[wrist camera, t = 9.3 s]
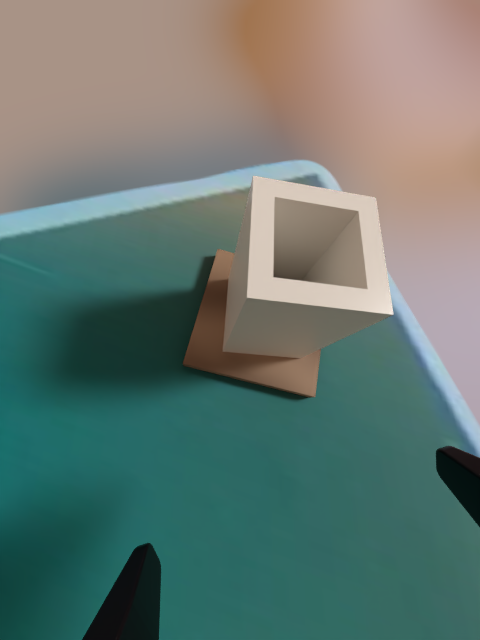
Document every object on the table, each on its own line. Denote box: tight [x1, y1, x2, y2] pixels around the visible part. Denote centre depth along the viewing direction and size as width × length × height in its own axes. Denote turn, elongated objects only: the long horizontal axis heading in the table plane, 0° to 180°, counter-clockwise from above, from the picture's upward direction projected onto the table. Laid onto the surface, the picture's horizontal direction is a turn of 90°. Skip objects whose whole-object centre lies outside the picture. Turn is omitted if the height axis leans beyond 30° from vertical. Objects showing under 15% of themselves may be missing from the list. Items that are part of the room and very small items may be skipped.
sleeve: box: [223, 176, 393, 358], centre depth 16 cm, size 6×6×10 cm
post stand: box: [183, 249, 321, 397], centre depth 19 cm, size 10×10×4 cm
